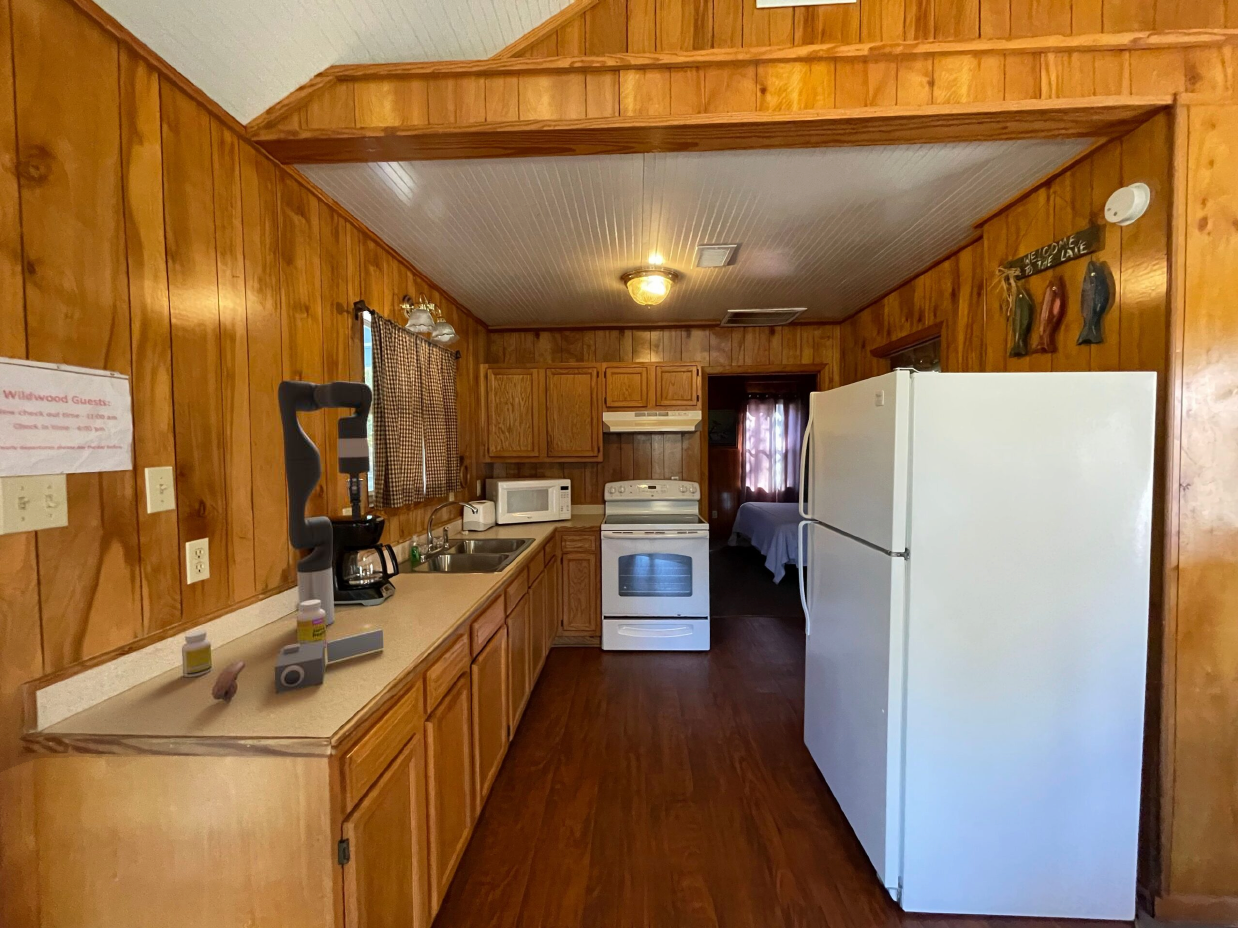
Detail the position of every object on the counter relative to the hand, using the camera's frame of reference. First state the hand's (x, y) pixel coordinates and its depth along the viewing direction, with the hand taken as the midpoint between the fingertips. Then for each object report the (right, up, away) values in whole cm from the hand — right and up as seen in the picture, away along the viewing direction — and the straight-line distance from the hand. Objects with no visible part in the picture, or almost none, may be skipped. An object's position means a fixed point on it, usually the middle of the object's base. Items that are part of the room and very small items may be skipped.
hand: (356, 518), depth 136 cm
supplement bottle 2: (-12, -36, -1) cm, 37 cm away
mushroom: (-13, -37, -28) cm, 48 cm away
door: (+3, -35, -6) cm, 35 cm away
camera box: (-3, -36, -18) cm, 40 cm away
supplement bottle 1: (-32, -37, -14) cm, 50 cm away
